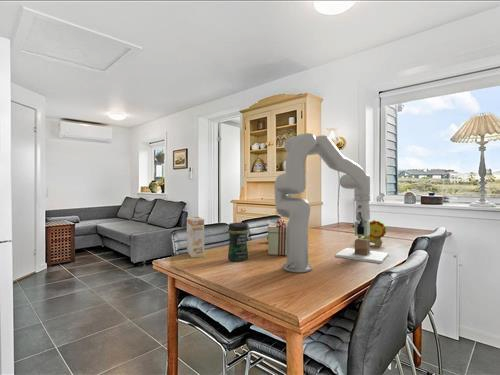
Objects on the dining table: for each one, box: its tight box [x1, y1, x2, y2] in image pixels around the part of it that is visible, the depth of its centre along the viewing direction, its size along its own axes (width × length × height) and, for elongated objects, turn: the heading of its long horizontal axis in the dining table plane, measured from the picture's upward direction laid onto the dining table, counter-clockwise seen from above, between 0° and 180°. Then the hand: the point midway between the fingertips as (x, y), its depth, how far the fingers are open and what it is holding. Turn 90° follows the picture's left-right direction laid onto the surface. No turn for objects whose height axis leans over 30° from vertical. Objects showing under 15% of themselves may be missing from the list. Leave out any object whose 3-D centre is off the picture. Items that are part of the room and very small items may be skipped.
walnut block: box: [354, 238, 371, 256], centre depth 149 cm, size 6×6×7 cm
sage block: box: [354, 220, 371, 237], centre depth 149 cm, size 6×6×7 cm
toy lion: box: [357, 219, 387, 247], centre depth 174 cm, size 16×5×15 cm, turn 58°
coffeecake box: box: [186, 216, 206, 259], centre depth 156 cm, size 15×7×20 cm, turn 22°
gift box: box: [267, 219, 288, 256], centre depth 160 cm, size 17×18×17 cm
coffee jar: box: [227, 222, 249, 262], centre depth 144 cm, size 10×8×19 cm
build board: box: [334, 247, 390, 264], centre depth 149 cm, size 18×22×1 cm
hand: (362, 233), depth 149 cm, fingers closed on sage block, 6 cm apart
